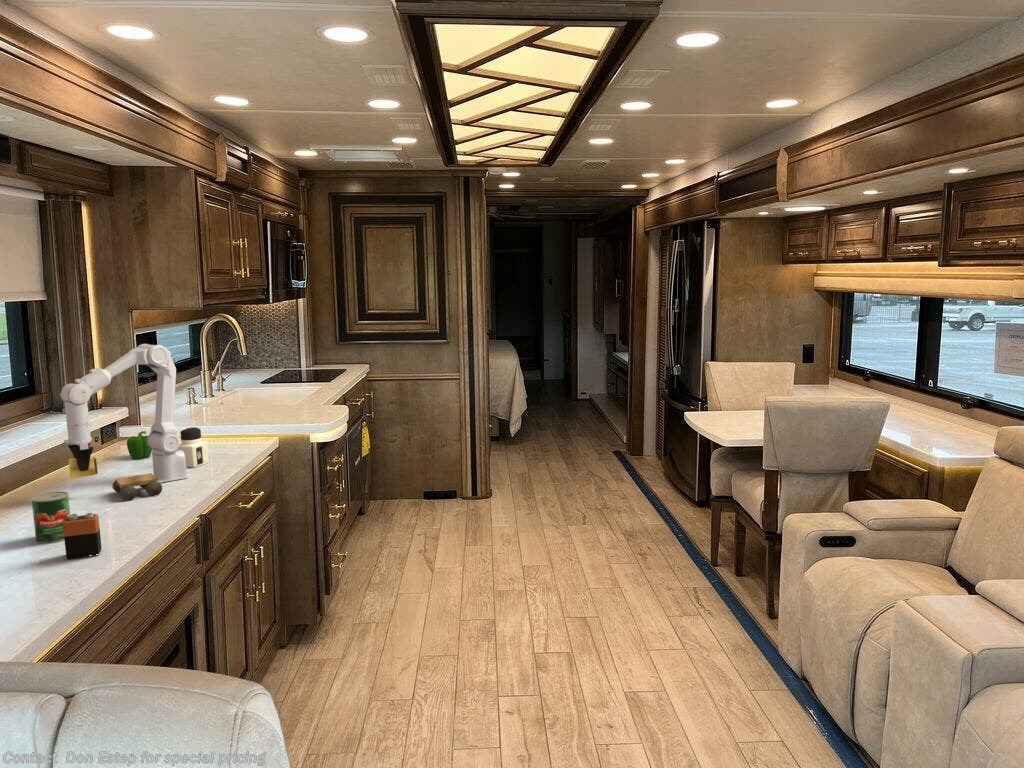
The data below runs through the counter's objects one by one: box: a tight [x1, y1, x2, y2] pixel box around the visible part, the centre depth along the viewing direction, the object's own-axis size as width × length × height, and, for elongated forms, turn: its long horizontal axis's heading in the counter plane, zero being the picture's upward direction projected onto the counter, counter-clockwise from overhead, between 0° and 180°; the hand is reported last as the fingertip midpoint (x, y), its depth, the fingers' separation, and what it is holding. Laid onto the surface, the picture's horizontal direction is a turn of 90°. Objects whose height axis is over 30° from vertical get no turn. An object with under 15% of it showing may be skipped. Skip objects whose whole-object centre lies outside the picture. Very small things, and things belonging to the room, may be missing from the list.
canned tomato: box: [30, 491, 71, 544], centre depth 184 cm, size 8×8×11 cm
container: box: [177, 427, 210, 469], centre depth 255 cm, size 8×8×13 cm
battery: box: [63, 512, 102, 560], centre depth 173 cm, size 4×7×10 cm, turn 111°
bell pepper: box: [126, 430, 152, 460], centre depth 266 cm, size 8×8×10 cm
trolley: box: [112, 472, 163, 502], centre depth 222 cm, size 11×11×5 cm
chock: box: [67, 455, 98, 479], centre depth 217 cm, size 7×4×5 cm, turn 128°
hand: (82, 469), depth 217 cm, fingers closed on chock, 4 cm apart
